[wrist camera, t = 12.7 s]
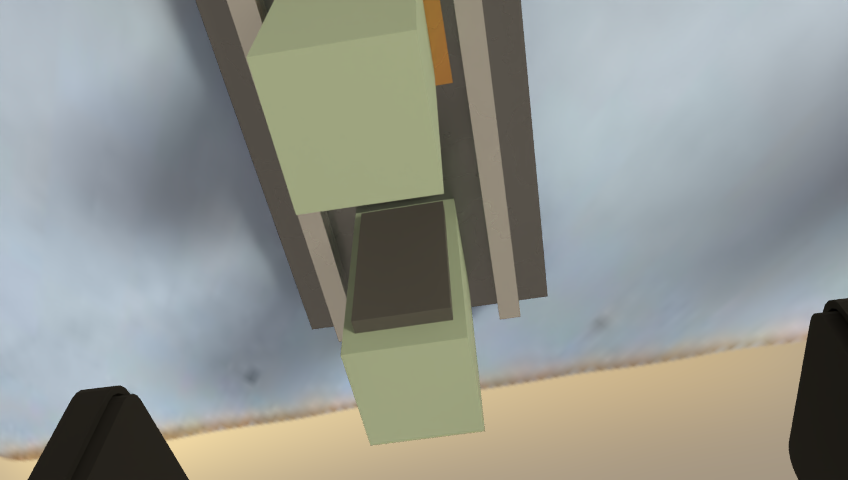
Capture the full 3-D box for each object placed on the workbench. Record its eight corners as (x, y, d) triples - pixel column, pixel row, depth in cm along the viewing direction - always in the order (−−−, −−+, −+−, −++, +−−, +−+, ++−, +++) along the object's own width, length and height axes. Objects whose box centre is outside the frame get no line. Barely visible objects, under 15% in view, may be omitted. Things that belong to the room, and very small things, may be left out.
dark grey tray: (501, -161, 25) (510, -150, 23) (542, 277, 37) (551, 312, 34) (175, -97, 26) (154, -81, 24) (315, 310, 38) (309, 346, 35)
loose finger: (413, -57, 26) (416, 29, 18) (436, 88, 29) (446, 210, 22) (291, -36, 26) (246, 57, 19) (327, 105, 29) (301, 231, 22)
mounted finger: (451, 187, 32) (465, 325, 24) (468, 283, 35) (484, 431, 28) (352, 202, 32) (336, 342, 25) (378, 296, 35) (370, 445, 28)
